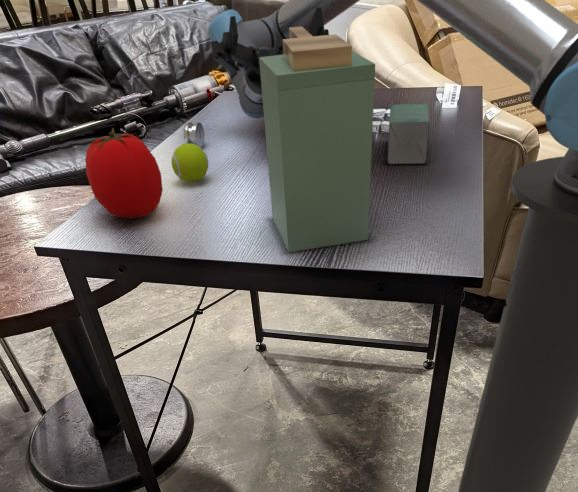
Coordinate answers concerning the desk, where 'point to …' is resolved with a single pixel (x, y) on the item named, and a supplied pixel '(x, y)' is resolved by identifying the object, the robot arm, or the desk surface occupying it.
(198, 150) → the tennis ball
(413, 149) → the box
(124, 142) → the tomato
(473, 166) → the desk surface
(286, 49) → the tan wooden slab
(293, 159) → the stand
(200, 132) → the grooved metal pulley
